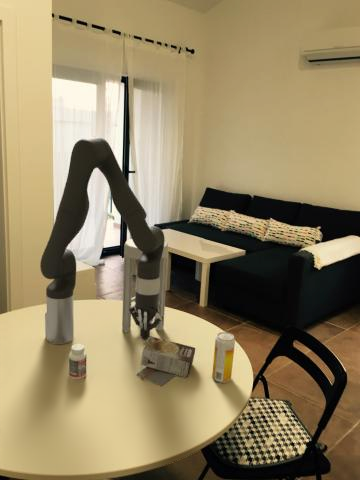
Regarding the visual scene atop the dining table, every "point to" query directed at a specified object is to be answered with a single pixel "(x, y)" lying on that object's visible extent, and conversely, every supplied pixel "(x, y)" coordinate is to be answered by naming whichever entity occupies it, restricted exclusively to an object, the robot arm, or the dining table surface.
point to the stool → (129, 254)
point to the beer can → (223, 357)
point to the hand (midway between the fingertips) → (144, 338)
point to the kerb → (147, 373)
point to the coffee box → (168, 356)
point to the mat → (157, 376)
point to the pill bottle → (77, 362)
